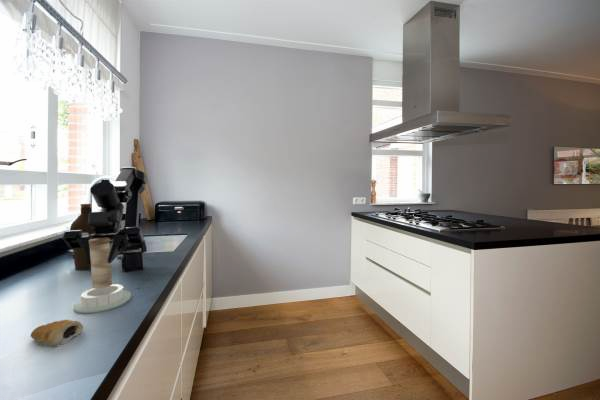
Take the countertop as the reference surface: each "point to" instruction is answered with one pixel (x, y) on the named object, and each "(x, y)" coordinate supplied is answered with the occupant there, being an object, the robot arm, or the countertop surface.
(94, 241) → the canister
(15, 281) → the countertop surface
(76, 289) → the countertop surface
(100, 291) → the holder
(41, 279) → the countertop surface
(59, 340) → the pastry
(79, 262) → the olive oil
